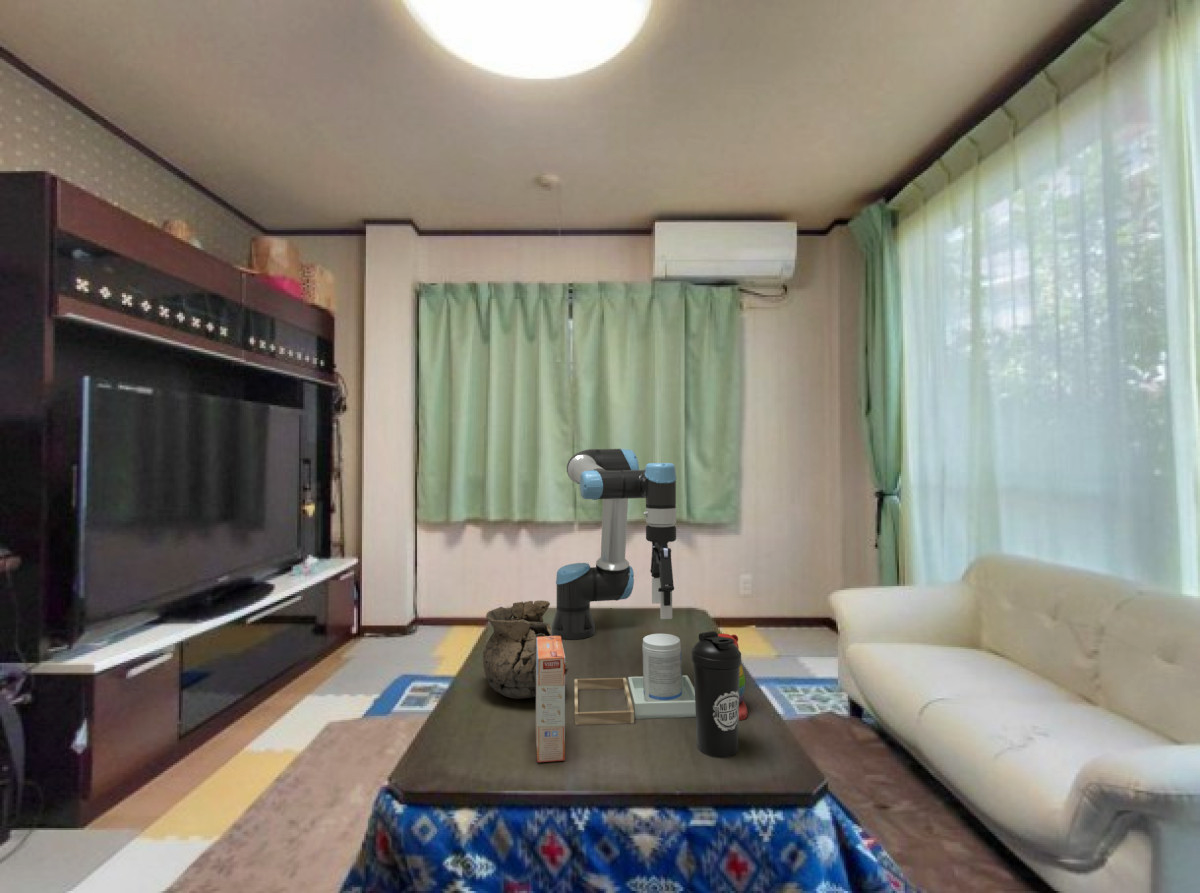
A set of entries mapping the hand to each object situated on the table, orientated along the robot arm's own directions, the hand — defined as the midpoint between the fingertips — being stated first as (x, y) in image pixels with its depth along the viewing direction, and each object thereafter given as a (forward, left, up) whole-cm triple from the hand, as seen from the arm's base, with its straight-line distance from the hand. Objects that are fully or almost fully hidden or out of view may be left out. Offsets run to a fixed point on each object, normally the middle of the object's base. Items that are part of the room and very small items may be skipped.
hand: (661, 610), depth 136 cm
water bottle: (+21, +8, -23) cm, 32 cm away
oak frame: (0, -15, -23) cm, 27 cm away
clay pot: (-9, -35, -23) cm, 43 cm away
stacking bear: (+4, +15, -23) cm, 27 cm away
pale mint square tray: (0, 0, -23) cm, 23 cm away
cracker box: (+18, -27, -23) cm, 40 cm away
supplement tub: (0, 0, -22) cm, 22 cm away
